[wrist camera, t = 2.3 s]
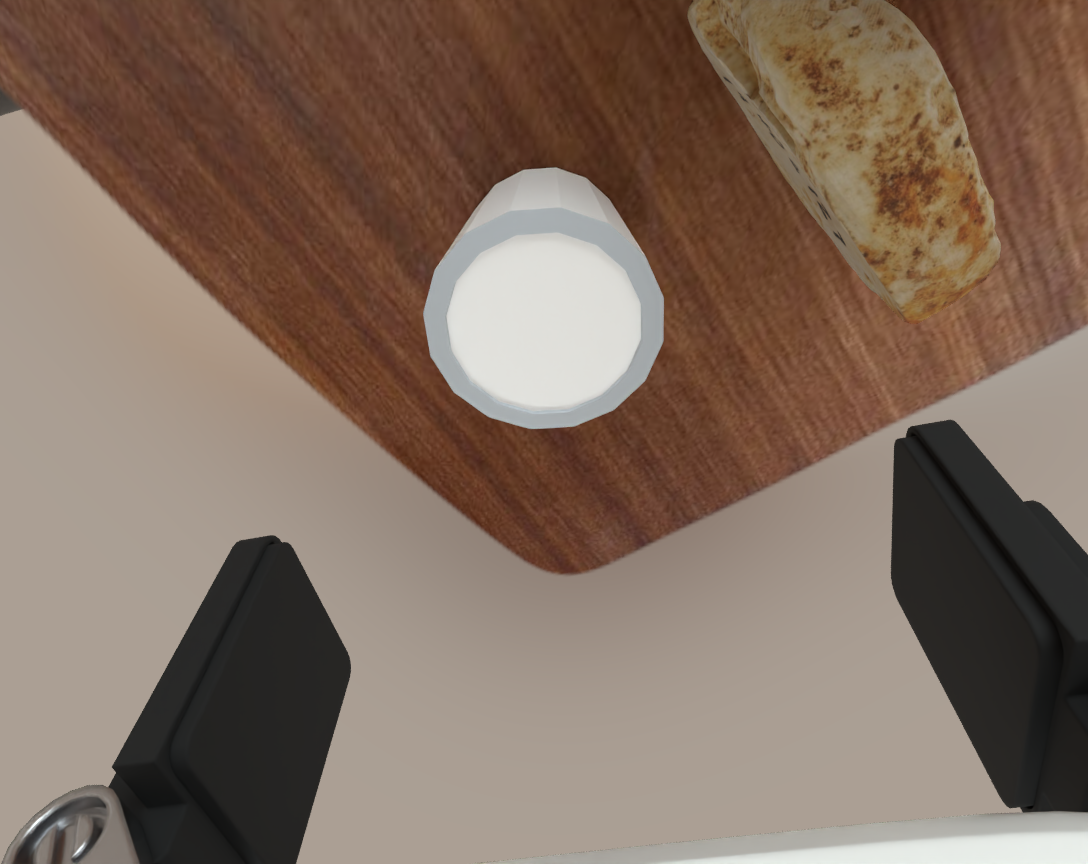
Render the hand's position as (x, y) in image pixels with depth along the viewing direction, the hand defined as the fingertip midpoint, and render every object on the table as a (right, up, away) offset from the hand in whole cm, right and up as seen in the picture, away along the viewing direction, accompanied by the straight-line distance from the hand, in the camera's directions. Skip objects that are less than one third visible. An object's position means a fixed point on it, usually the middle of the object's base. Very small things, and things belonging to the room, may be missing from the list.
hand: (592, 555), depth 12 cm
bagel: (+7, +13, +13) cm, 20 cm away
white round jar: (-1, +9, +16) cm, 18 cm away
